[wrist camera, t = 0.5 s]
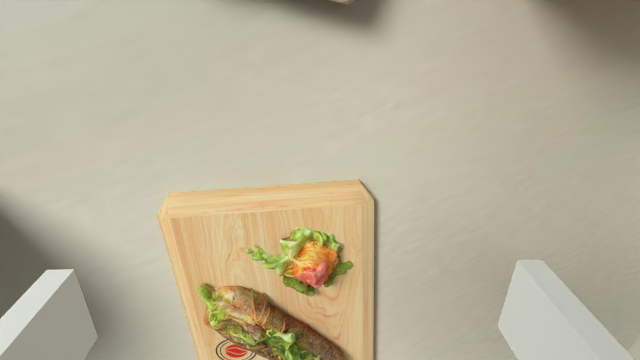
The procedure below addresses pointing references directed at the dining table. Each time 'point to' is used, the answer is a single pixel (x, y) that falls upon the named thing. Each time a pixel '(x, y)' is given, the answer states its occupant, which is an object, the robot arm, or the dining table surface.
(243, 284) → the cutting board
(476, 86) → the dining table surface
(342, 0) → the brick
